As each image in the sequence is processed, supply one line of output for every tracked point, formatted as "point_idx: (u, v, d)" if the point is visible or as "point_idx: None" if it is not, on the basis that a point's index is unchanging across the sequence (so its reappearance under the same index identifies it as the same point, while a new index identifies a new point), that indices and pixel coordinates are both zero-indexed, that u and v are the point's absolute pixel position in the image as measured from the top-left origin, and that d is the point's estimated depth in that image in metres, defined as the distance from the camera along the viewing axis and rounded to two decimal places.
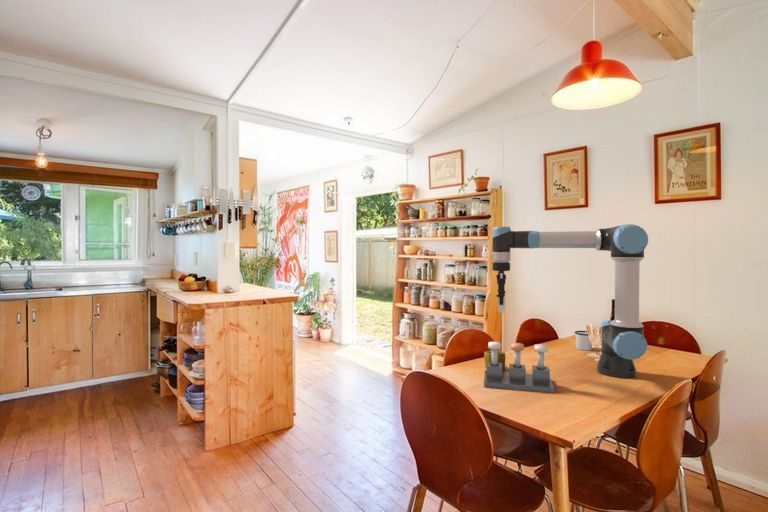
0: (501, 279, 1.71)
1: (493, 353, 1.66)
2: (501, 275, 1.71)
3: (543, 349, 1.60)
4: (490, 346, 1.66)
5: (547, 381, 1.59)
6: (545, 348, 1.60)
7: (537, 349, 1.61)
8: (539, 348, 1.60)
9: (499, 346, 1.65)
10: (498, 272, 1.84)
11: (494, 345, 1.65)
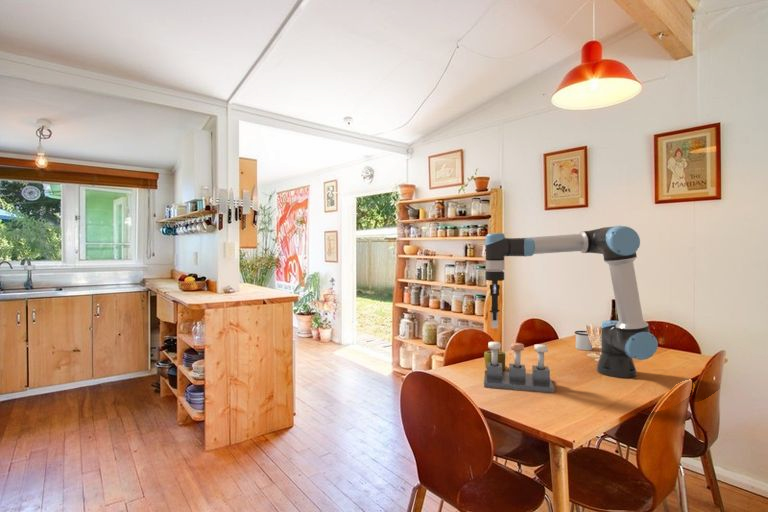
0: (494, 295, 1.62)
1: (493, 353, 1.66)
2: (494, 291, 1.61)
3: (543, 349, 1.60)
4: (490, 346, 1.66)
5: (547, 381, 1.59)
6: (545, 348, 1.60)
7: (537, 349, 1.61)
8: (539, 348, 1.60)
9: (499, 346, 1.65)
10: None
11: (494, 345, 1.65)
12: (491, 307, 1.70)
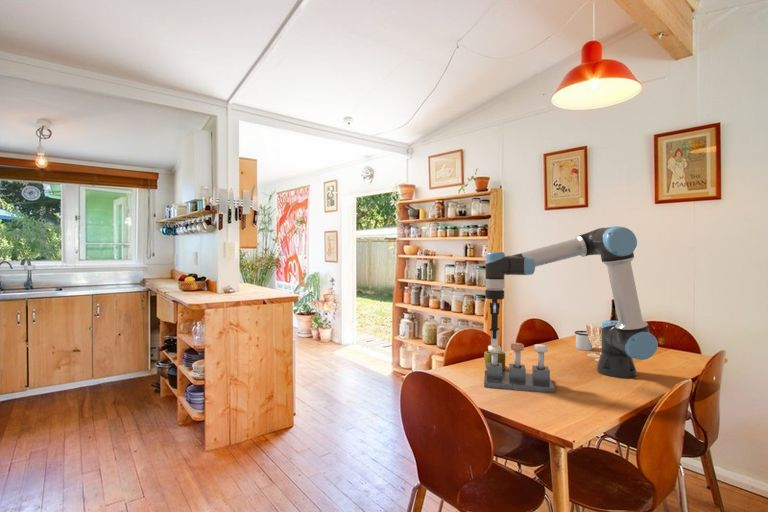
0: (494, 314, 1.62)
1: (493, 357, 1.66)
2: (494, 310, 1.61)
3: (543, 349, 1.60)
4: (490, 350, 1.66)
5: (547, 381, 1.59)
6: (545, 348, 1.60)
7: (537, 349, 1.61)
8: (539, 348, 1.60)
9: (499, 350, 1.65)
10: None
11: (494, 349, 1.65)
12: None
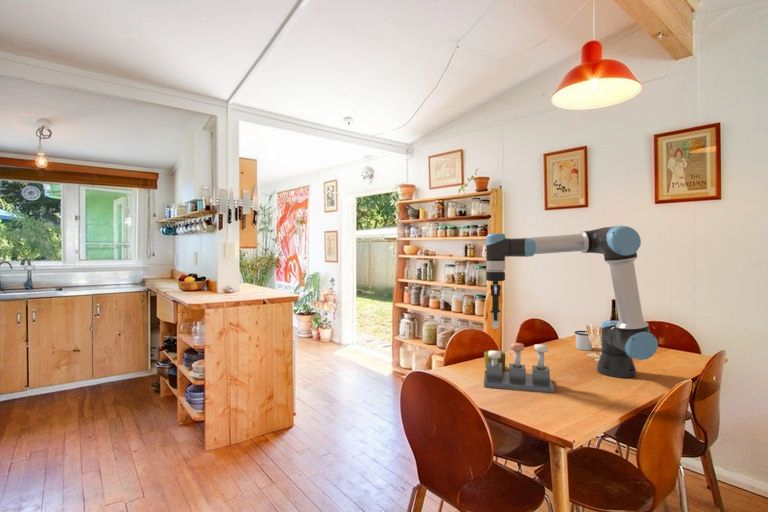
0: (495, 295, 1.62)
1: (493, 362, 1.67)
2: (495, 292, 1.61)
3: (543, 349, 1.60)
4: (490, 355, 1.66)
5: (547, 381, 1.59)
6: (545, 348, 1.60)
7: (537, 349, 1.61)
8: (539, 348, 1.60)
9: (499, 355, 1.65)
10: None
11: (494, 354, 1.65)
12: None
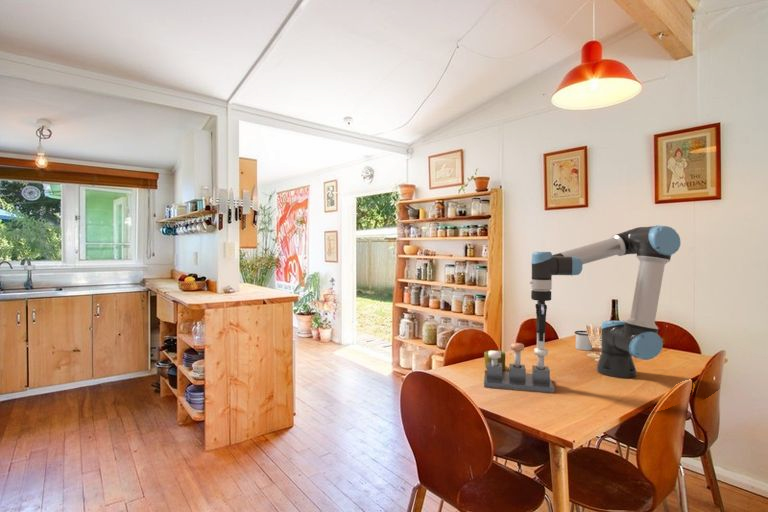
0: (542, 316, 1.57)
1: (493, 362, 1.67)
2: (542, 312, 1.56)
3: (543, 353, 1.60)
4: (490, 355, 1.66)
5: (547, 381, 1.59)
6: (545, 352, 1.60)
7: (537, 352, 1.61)
8: (539, 352, 1.61)
9: (499, 355, 1.65)
10: None
11: (494, 354, 1.65)
12: (536, 327, 1.66)
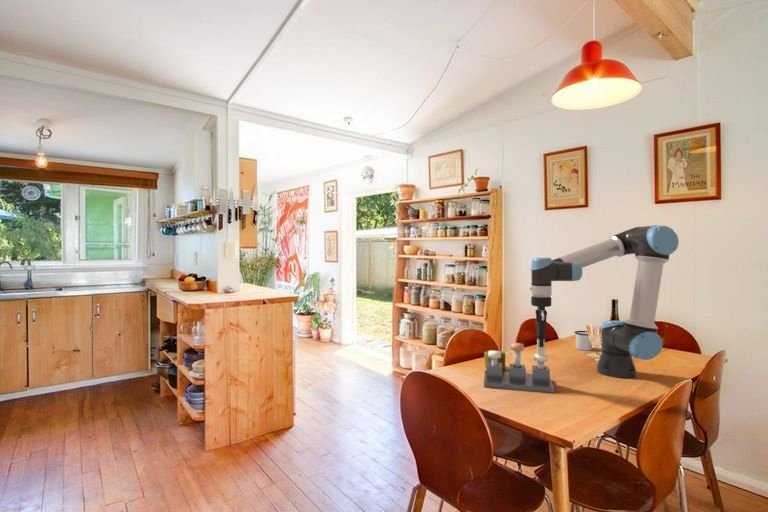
0: (542, 322, 1.57)
1: (493, 362, 1.67)
2: (542, 318, 1.56)
3: (543, 359, 1.60)
4: (490, 355, 1.66)
5: (547, 381, 1.59)
6: (545, 358, 1.60)
7: (537, 358, 1.61)
8: (539, 358, 1.61)
9: (499, 355, 1.65)
10: None
11: (494, 354, 1.65)
12: None
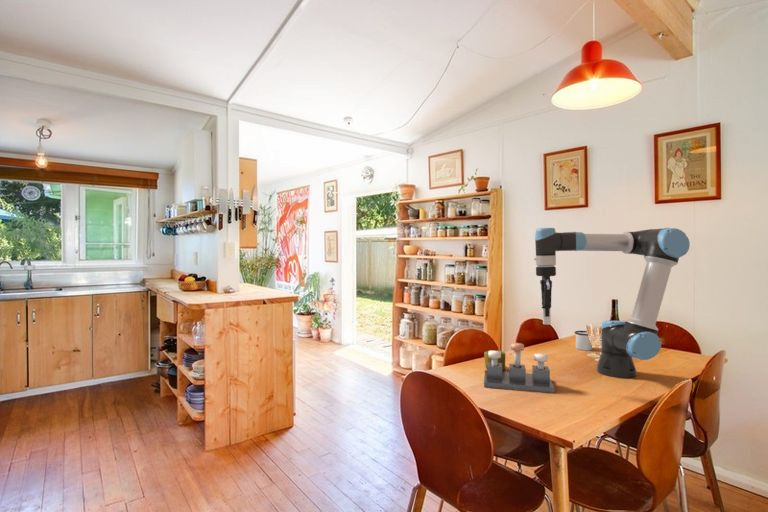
0: (547, 291, 1.59)
1: (493, 362, 1.67)
2: (548, 287, 1.58)
3: (543, 359, 1.60)
4: (490, 355, 1.66)
5: (547, 381, 1.59)
6: (545, 358, 1.60)
7: (537, 358, 1.61)
8: (539, 358, 1.61)
9: (499, 355, 1.65)
10: None
11: (494, 354, 1.65)
12: (542, 303, 1.67)
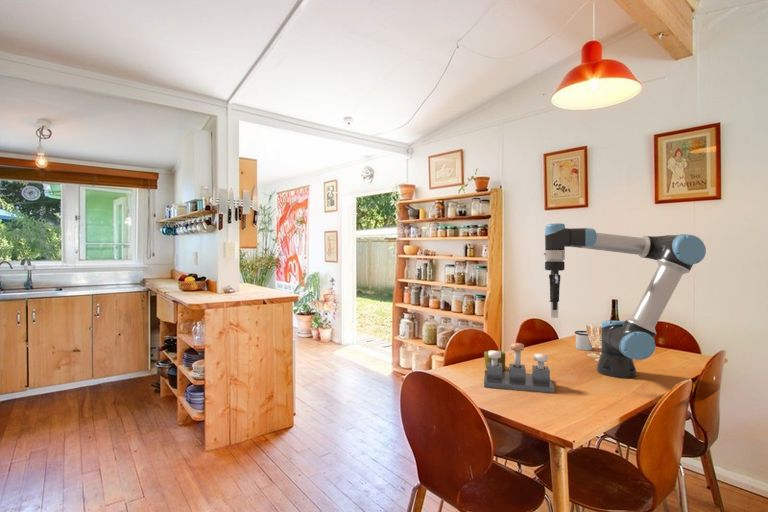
0: (556, 285, 1.63)
1: (493, 362, 1.67)
2: (556, 281, 1.62)
3: (543, 359, 1.60)
4: (490, 355, 1.66)
5: (547, 381, 1.59)
6: (545, 358, 1.60)
7: (537, 358, 1.61)
8: (539, 358, 1.61)
9: (499, 355, 1.65)
10: None
11: (494, 354, 1.65)
12: (550, 297, 1.71)
